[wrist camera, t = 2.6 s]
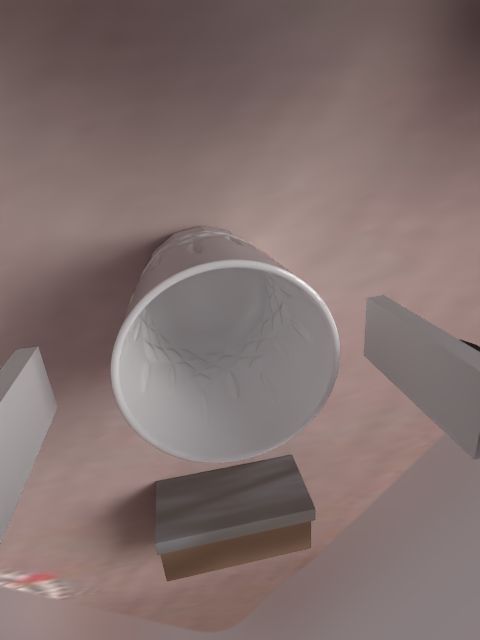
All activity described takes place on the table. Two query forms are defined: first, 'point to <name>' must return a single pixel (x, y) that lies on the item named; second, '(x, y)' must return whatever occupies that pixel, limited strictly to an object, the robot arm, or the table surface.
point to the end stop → (231, 517)
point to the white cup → (222, 350)
